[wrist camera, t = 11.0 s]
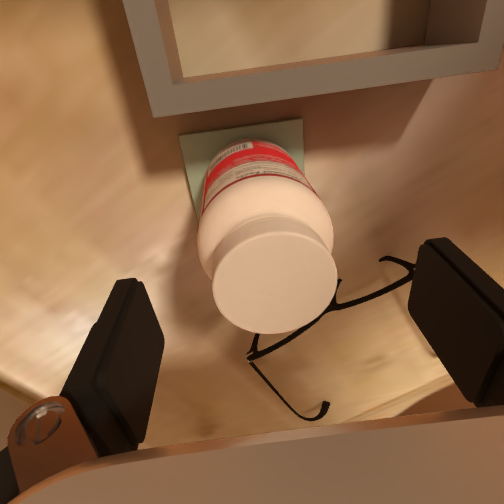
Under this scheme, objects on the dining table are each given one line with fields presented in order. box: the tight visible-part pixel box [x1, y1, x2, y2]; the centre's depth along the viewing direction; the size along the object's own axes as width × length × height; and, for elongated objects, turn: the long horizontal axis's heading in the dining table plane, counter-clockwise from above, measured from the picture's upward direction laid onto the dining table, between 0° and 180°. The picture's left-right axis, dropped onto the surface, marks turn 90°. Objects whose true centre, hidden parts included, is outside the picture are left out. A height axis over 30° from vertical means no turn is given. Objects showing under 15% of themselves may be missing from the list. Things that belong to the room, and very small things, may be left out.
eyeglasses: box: [245, 256, 416, 421], centre depth 29 cm, size 16×16×4 cm
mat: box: [178, 118, 305, 224], centre depth 21 cm, size 8×8×1 cm
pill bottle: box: [197, 138, 337, 334], centre depth 16 cm, size 6×6×11 cm
